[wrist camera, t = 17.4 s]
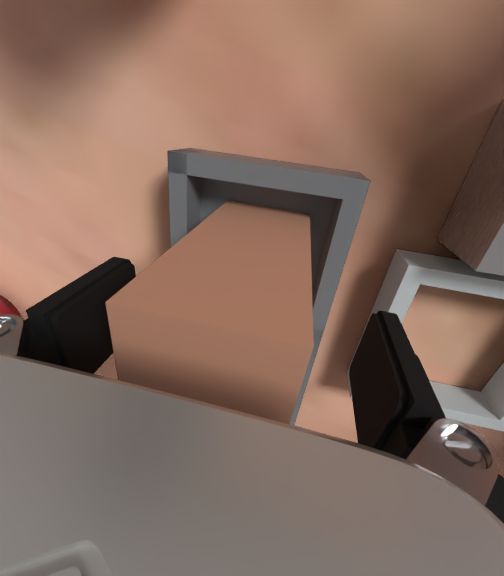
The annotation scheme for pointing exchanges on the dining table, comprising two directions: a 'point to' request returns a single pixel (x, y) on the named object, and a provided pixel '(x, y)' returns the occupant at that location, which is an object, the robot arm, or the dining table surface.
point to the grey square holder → (481, 207)
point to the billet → (223, 313)
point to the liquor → (7, 307)
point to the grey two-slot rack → (277, 194)
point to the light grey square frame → (454, 276)
